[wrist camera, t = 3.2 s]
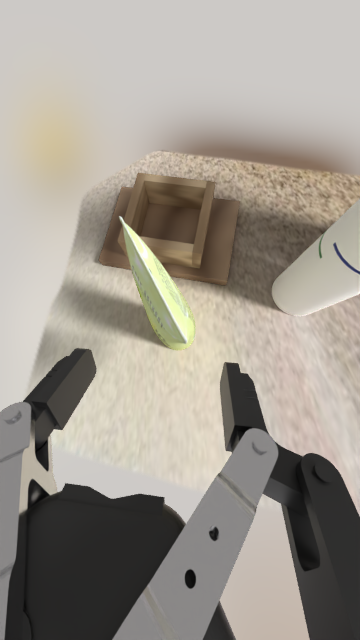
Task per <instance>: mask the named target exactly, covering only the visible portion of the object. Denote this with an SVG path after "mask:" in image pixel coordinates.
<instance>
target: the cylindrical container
mask: <svg viewBox="0 0 360 640" xmlns="http://www.w3.org/2000/svg"><path fill="white" fill-rule="evenodd" d="M358 294H360V199H359V200H358V201H357V202H356V203H355V204H354V205H352V206H351V207H350V208H349V209H348V210H347V211H346V212H345V213H344V214H343V215H342V216H341V217H340V218H339V219H338V220H337V221H336V222H335V223H334V224H333V225H332V226H331V227H330V228H329V229H327V231H325V232H324V233H323V234H322V235H321V236H320V237H319V238H318V239H317V240H316V241H315V242H314V243H313V244H312V245H311V246H310V247H309V248H308V249H307V250H306V251H305V252H303V253H302V254H301V255H300V256H299V257H298V258H297V259H296V260H295V261H294V262H293V263H292V264H291V265H290V266H289V267H288V268H287V269H286V270H285V271H284V272H283V273H282V274H281V275H279V276H278V277H277V278H276V280H275V281H274V283H273V286H272V297H273V300H274V302H275V304H276V305H277V306H278V307H279V308H280V309H281V310H282V311H283V312H285V313H287V314H290V315H293V316H305V315H308V314H311V313H313V312H316V311H318V310H321V309H323V308H326V307H328V306H331V305H333V304H336V303H338V302H341V301H343V300H346V299H348V298H351V297H353V296H356V295H358Z"/></svg>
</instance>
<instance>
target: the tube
mask: <svg viewBox="0 0 360 640" xmlns="http://www.w3.org/2000/svg"><path fill="white" fill-rule="evenodd" d="M119 219H120V221H121V223H122V225H123V230H124V238H125V243H126V249H127V254H128V258H129V262H130V266H131V269H132V273H133V276H134V279H135V282H136V285H137V288H138V291H139V294H140V297H141V299H142V302H143V305H144V308H145V311H146V313H147V316H148V318H149V321H150V323H151V326H152V328H153V330H154V331H155V333H156V335H157V336H158V338H159V339H160V340H161V341H162V342H163V343H164V344H165V345H166V346H167V347H169V348H170V349H173V350H183V349H186V348H188V347H189V346H190V345H191V344H192V342H193V340H194V338H195V321H194V317H193V314H192V312H191V310H190V308H189V306H188V304H187V302H186V300H185V299H184V297H183V296H182V294H181V292H180V291H179V289H178V288H177V286H176V285H175V283H174V282H173V280H172V279H171V277H170V276H169V274H168V273H167V271H166V270H165V268H164V267H163V265H162V264H161V263H160V261H159V260H158V259H157V258H156V256H155V255H154V254H153V252H152V251H151V250H150V249H149V248H148V246H147V245H146V244H145V243H144V242H143V240H142V239H141V238H140V237H139V236H138V235H137V234H136V233H135V232H134V231H133V230H132V229H131V228H130V227H129V226H128V225H127V224H126V223H125V222H124V220H123V218H122V217H121V216H119Z"/></svg>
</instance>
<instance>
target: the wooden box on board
mask: <svg viewBox="0 0 360 640" xmlns="http://www.w3.org/2000/svg"><path fill="white" fill-rule="evenodd" d="M214 189H215V182H211V181H203V180H194V179H186V178H177V177H169V176H160V175H152V174H144V173H138V174H137V178H136V181H135V184H134V188H129V187H122V188H121V191H120V194H119V197H118V200H117V203H116V207H115V210H114V213H113V216H112V219H111V222H110V226H109V229H108V232H107V235H106V238H105V241H104V245H103V248H102V251H101V254H100V257H99V261H100V262H101V264H102V265H106V266H112V267H118V268H124V269H130V270H132V269H131V266H130V262H129V258H128V254H127V249H126V243H125V238H124V230H123V225H122V223H121V221H120V219H119V216H121V217H122V218H123V220H124V222H125V223H126V224H127V225H128V226H129V227H130V228H131V229H132V230H133V231H134V232H135V233H136V234H137V235H138V236H139V237H140V238H141V239H142V240H143V242H144V243H145V244H146V245H147V246H148V248H149V249H150V250H151V251H152V252H153V254H154V255H155V256H156V258H157V259H158V260H159V261H160V263H161V264H162V265H163V267H164V268H165V270H166V271H167V273H168V274H169V276H172V277H178V278H184V279H190V280H196V281H202V282H208V283H214V284H220V285H226V283H227V280H228V273H229V267H230V261H231V255H232V248H233V242H234V236H235V230H236V223H237V217H238V211H239V204H240V201H232V200H224V199H216V198H213V195H214Z"/></svg>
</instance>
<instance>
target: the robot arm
mask: <svg viewBox="0 0 360 640" xmlns="http://www.w3.org/2000/svg"><path fill="white" fill-rule="evenodd" d="M95 374H96V365H95V362H94V358H93V355H92V352H91V350H90V349H80V348H76V349H75V350H74V351H73V352H72V353H71V354H70V356H66V357H64V358H63V359H61V360H60V361H58V362H57V363H56V364H55V366H54V367H53V368H52V369H51V371H49V372H48V374H47V375H46V377H44V378H43V379H42V380H41V382H40V383H39V384H38V385H37V386H36V387H35V388H34V389H33V391H32V392H31V393H30V394H29V395H28V396H27V397H26V399H25V400H24V401H23V402H19V403H15V404H13V405H10V406H8V407H7V408H5V409H4V410H2V411H1V412H0V640H236V639H235V636H234V634H233V632H232V629H231V627H230V625H229V622H228V620H227V618H226V615H225V613H224V610H223V608H222V606H221V603H220V601H219V600H220V597H221V595H222V593H223V590H224V588H225V586H226V583H227V581H228V578H229V576H230V574H231V571H232V569H233V567H234V564H235V561H236V560H237V557H238V555H239V552H240V550H241V548H242V545H243V543H244V541H245V538H246V536H247V533H248V531H249V529H250V526H251V524H252V522H253V519H254V516H255V513H256V508H257V505H258V502H259V500H260V498H261V495H262V493H263V494H264V495H266V496H268V497H270V498H272V499H274V500H275V501H277V502H279V503H281V506H282V511H283V515H284V520H285V524H286V530H287V534H288V539H289V544H290V548H291V553H292V558H293V562H294V567H295V572H296V577H297V581H298V586H299V590H300V596H301V600H302V605H303V610H304V614H305V619H306V624H307V628H308V633H309V638H310V640H360V516H359V514H358V512H357V510H356V508H355V505H354V503H353V501H352V499H351V496H350V494H349V492H348V490H347V488H346V485H345V483H344V481H343V479H342V477H341V475H340V473H339V472H338V470H337V469H336V468H335V466H334V465H333V464H332V463H331V462H329V461H328V460H327V459H325V458H324V457H322V456H320V455H318V454H314V453H309V454H306V455H304V456H300V455H298V454H296V453H294V452H291V451H289V450H287V449H285V448H283V447H281V446H280V445H278V444H277V443H276V442H275V441H274V440H273V438H272V437H271V436H270V435H269V433H268V431H267V429H266V426H265V422H264V419H263V415H262V412H261V408H260V404H259V401H258V397H257V393H256V390H255V386H254V383H253V381H252V379H251V378H250V377H249V375H248V374H245V373H240V368H239V364H238V363H228V362H225V363H224V366H223V371H222V376H221V380H220V394H221V405H222V416H223V427H224V437H225V448H226V451H231V452H232V455H231V456H230V458H229V459H228V461H227V463H226V464H225V466H224V467H223V469H222V471H221V472H220V473H219V474H218V475H217V476H216V478H215V479H214V481H213V482H212V484H211V485H210V487H209V489H208V490H207V492H206V493H205V495H204V497H203V498H202V500H201V502H200V503H199V505H198V506H197V508H196V510H195V511H194V513H193V514H192V516H191V518H190V519H189V521H188V522H187V524H185V522H184V521H183V520H182V518H181V517H180V516H179V515H178V514H177V512H175V511H174V510H173V509H172V508H171V507H169V506H167V505H166V504H165V502H164V497H157V496H151V495H144V494H136V495H131V496H126V497H121V498H116V499H110V498H108V497H106V496H104V495H102V494H101V493H99V492H97V491H96V490H94V489H92V488H91V487H88V486H81V485H74V484H65V486H64V488H63V490H62V491H60V492H57V486H56V482H55V480H54V476H53V466H52V445H51V436H50V434H51V433H52V431H53V429H58V430H63V428H64V427H65V425H66V423H67V422H68V420H69V418H70V417H71V415H72V413H73V412H74V410H75V408H76V407H77V405H78V403H79V402H80V400H81V398H82V397H83V395H84V393H85V392H86V390H87V388H88V387H89V385H90V383H91V382H92V380H93V378H94V377H95Z"/></svg>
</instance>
